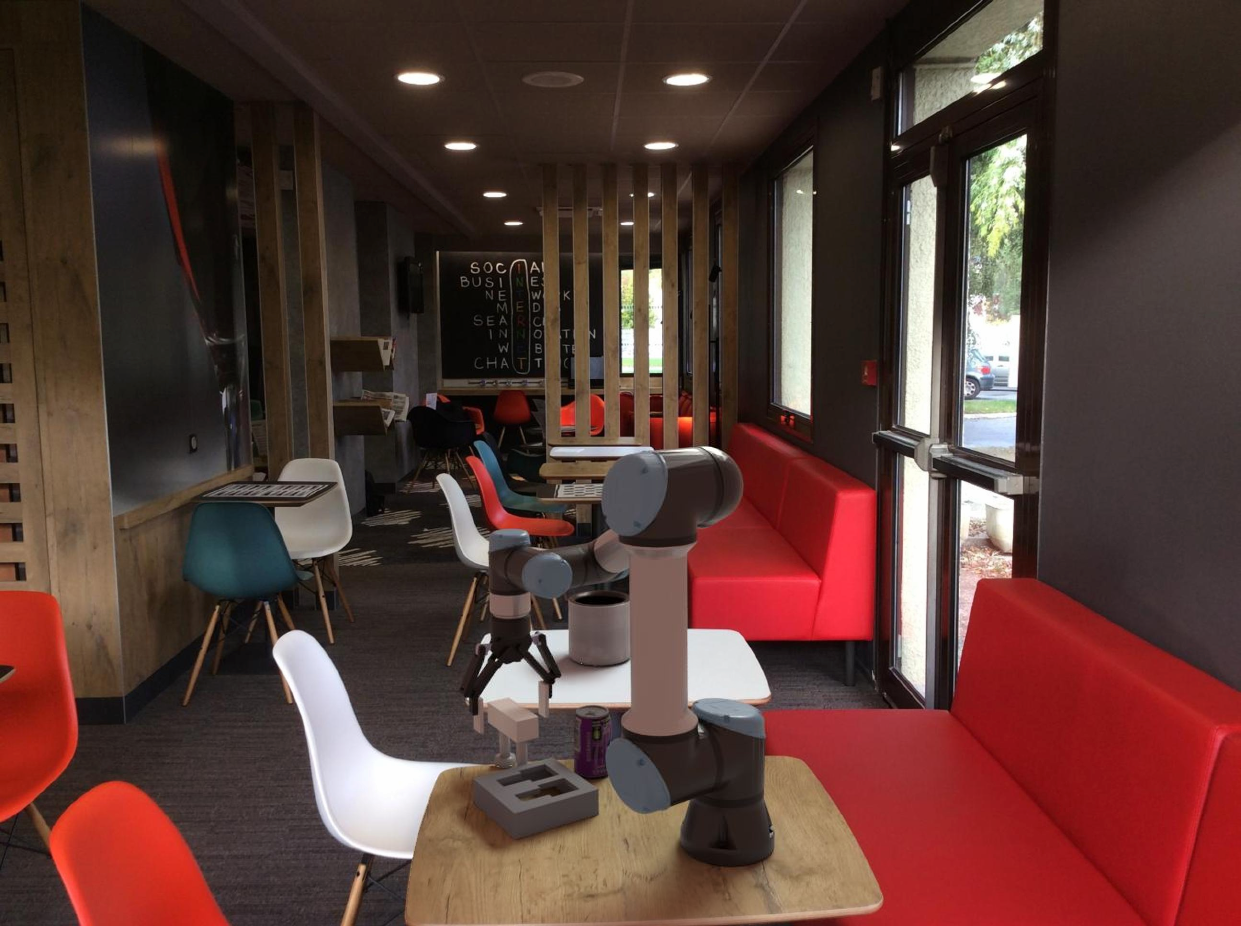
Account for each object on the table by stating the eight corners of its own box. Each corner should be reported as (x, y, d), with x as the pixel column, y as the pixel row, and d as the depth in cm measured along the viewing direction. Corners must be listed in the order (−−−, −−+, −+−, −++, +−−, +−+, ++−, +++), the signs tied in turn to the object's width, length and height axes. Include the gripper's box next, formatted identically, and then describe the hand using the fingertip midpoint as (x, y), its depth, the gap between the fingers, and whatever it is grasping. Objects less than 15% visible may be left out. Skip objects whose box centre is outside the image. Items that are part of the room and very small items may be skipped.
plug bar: (539, 778, 192) (538, 716, 190) (517, 784, 190) (516, 721, 188) (509, 756, 202) (508, 697, 200) (488, 762, 200) (487, 701, 198)
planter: (566, 649, 269) (566, 590, 267) (628, 646, 271) (628, 588, 269) (570, 669, 253) (569, 607, 251) (636, 666, 255) (635, 604, 253)
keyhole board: (553, 780, 191) (552, 757, 191) (598, 814, 178) (598, 789, 177) (473, 802, 183) (472, 778, 182) (515, 839, 169) (514, 813, 169)
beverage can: (607, 781, 191) (606, 719, 189) (569, 778, 192) (569, 716, 190) (615, 765, 198) (614, 705, 196) (579, 762, 199) (578, 702, 197)
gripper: (559, 598, 202) (559, 703, 205) (439, 618, 188) (441, 730, 191) (578, 607, 195) (579, 715, 198) (456, 629, 182) (458, 744, 185)
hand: (511, 723), depth 195 cm, fingers open, 13 cm apart
